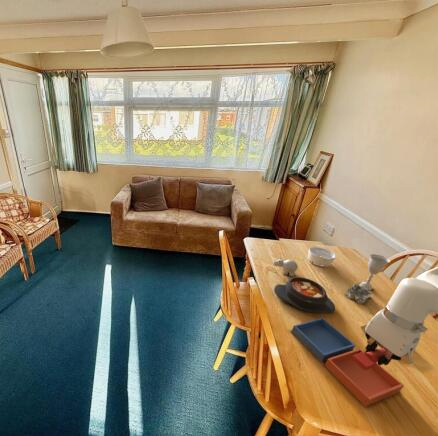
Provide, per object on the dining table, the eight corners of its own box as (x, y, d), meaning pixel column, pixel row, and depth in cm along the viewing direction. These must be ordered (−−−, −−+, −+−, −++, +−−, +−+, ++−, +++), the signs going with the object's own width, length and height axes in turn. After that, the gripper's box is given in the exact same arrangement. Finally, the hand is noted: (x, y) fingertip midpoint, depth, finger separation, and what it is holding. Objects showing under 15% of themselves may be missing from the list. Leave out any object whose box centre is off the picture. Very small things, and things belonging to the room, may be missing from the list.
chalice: (359, 289, 118) (374, 260, 111) (354, 281, 124) (367, 253, 116) (377, 292, 116) (393, 263, 108) (371, 284, 121) (385, 256, 114)
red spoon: (375, 350, 77) (379, 344, 76) (389, 361, 74) (393, 355, 72) (350, 358, 74) (354, 352, 73) (364, 370, 71) (368, 364, 70)
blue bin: (352, 351, 87) (355, 345, 85) (321, 361, 83) (324, 355, 81) (319, 323, 98) (322, 317, 97) (291, 331, 94) (293, 325, 93)
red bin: (399, 392, 74) (404, 385, 72) (365, 406, 70) (369, 399, 69) (355, 354, 85) (359, 348, 84) (324, 365, 82) (327, 358, 80)
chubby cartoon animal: (273, 264, 137) (276, 252, 134) (296, 272, 130) (300, 260, 127) (270, 270, 132) (273, 258, 129) (294, 278, 125) (298, 266, 122)
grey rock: (362, 305, 108) (365, 299, 106) (343, 295, 114) (346, 289, 112) (371, 297, 113) (374, 290, 111) (352, 288, 119) (355, 282, 117)
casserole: (274, 305, 107) (279, 292, 104) (272, 281, 123) (276, 269, 119) (339, 323, 98) (346, 309, 95) (327, 295, 114) (333, 282, 110)
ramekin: (309, 253, 148) (312, 244, 146) (334, 262, 140) (338, 252, 137) (303, 261, 140) (306, 252, 137) (328, 271, 131) (333, 261, 129)
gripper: (449, 338, 61) (415, 380, 68) (378, 295, 75) (356, 334, 83) (431, 344, 59) (397, 387, 66) (361, 299, 73) (341, 339, 81)
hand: (375, 357), depth 74 cm, fingers closed on red spoon, 3 cm apart
